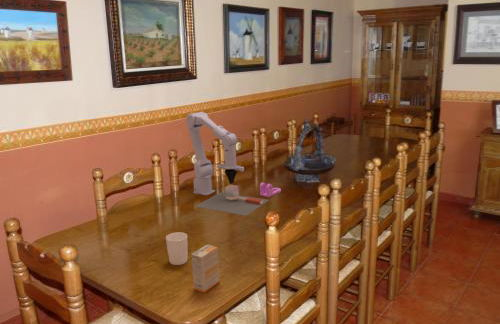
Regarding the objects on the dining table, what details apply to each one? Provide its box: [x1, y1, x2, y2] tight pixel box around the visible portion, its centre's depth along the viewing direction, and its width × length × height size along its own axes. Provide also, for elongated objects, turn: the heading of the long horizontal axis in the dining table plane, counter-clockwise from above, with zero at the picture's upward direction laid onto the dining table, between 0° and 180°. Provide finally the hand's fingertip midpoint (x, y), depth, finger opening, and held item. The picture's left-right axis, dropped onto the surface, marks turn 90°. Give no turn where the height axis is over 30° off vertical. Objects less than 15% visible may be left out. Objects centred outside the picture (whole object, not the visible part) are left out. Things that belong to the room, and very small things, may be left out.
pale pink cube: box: [224, 184, 240, 198], centre depth 232 cm, size 5×5×5 cm
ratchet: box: [226, 194, 264, 206], centre depth 229 cm, size 21×7×5 cm, turn 60°
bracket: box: [259, 182, 282, 198], centre depth 241 cm, size 13×6×7 cm, turn 141°
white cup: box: [165, 231, 189, 266], centre depth 168 cm, size 8×8×10 cm
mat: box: [194, 191, 270, 216], centre depth 228 cm, size 30×24×1 cm
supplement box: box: [190, 244, 220, 293], centre depth 149 cm, size 8×5×13 cm, turn 145°
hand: (231, 183), depth 231 cm, fingers closed
